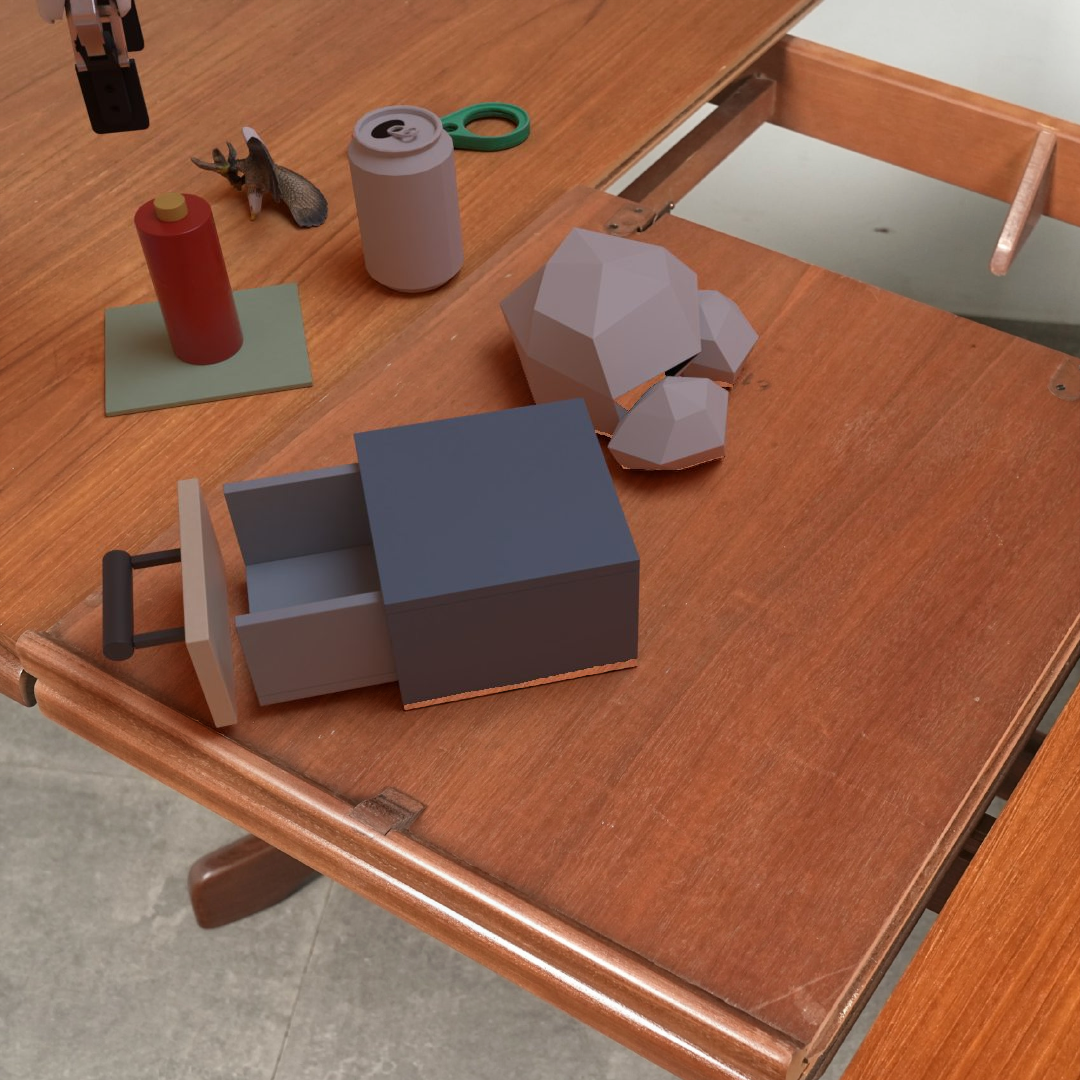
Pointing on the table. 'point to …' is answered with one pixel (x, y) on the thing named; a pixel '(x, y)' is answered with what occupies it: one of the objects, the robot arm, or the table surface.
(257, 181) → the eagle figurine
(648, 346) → the rock
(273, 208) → the table surface
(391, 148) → the can
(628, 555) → the cabinet
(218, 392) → the mat
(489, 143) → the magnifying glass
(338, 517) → the drawer
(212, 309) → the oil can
